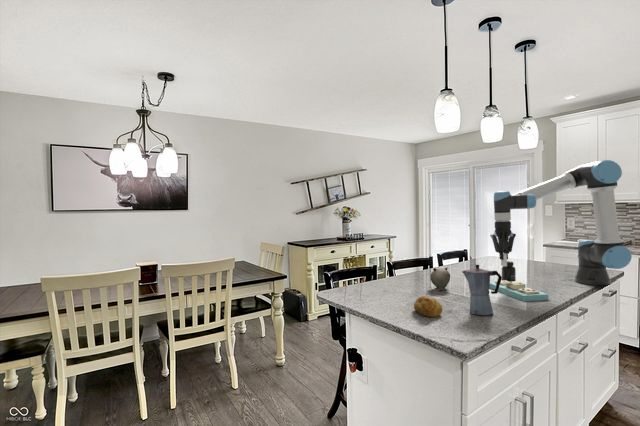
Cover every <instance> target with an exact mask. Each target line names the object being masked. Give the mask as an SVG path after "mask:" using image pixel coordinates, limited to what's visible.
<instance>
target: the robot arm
mask: <svg viewBox="0 0 640 426" xmlns="http://www.w3.org/2000/svg"><path fill="white" fill-rule="evenodd" d="M622 175H623V169H622V168H621V165H619V163H618V162H615V161H614V160H610V159H603V160H602V159H600V160H597V161H592V162H586V163H584V164H580V165H578V166H577V167H575V168H572V169H569V170H568V171H565V172H563V174H562V175H560V176H557V177H554V178H552V179H550V180H547V181H544V182H542V183H538V184H537V185H534V186H531V187H528V188H526V189H525V188H524V189H522V190H521V191H518V192H516V193H513V194H511V192H510V191H508V190H507V191H505V190H504V191H496V192H494V195H493V210H494V212H493V213H494V233H492V234H490V237H491V239H492V243H493V246H494V250H495V252H496V253H498V255H499V260H500V265H501V267H503V266H507V261H508V259H509V254H510V253H512V252H513V246H514V242H515V239H516V236H517V234H516V233H513V232H512V230H511V229H512V223H511V220H512V217H511V216H512V215H511V210H529V209H534V208H535V207H536V205H537V200H539V199H543V198H546V197H548V196H551V195H554V194H556V193H559V192H562V191H564V190H567V189H575V188H578V187H583V186H587V187H586V188H587V190H588V191H590V192H591V197H592V206H593V213H594V223H595V231H596V239H593V240H591V239H589V240H580V241H578V243H577V250H578V253H577V254H578V256H577V257H578V269H577V271H576V275H575V276H574V281H575V282H576V283H578V284H583V285H589V286H610V285H612V284H611V283H612V281H611V278H610V276H609V272H608V271H607V269H610V270H611V269H613V270H614V269H615V270H619V269H620V270H621V269H623V268H625V267H627V266H628V265H629V264H630V262H631V261H632V258H633V257H632V256H633V255H632V252H631V250H630V249H628V247H626V246H625V240H623V239H622V238H621V237H620V232H619V224H618V223H619V222H618V214H617V206H616V196H615V189H616V188H617V187H618V182H619V180H620V178H622Z"/></svg>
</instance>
